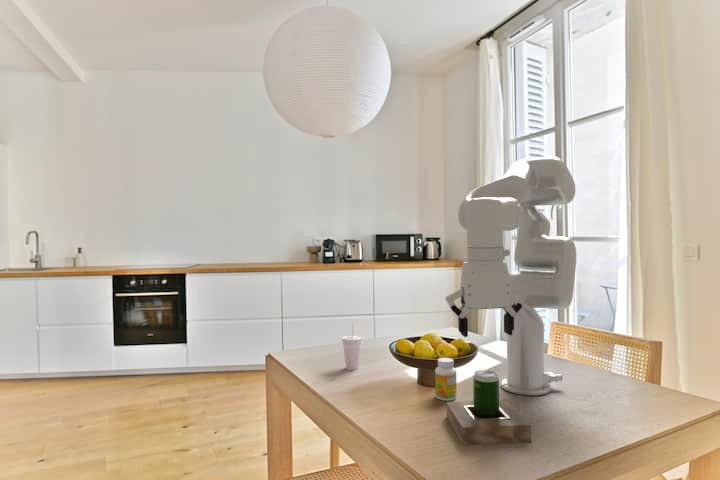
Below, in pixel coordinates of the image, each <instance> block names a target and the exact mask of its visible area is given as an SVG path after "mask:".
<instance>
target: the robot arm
mask: <svg viewBox="0 0 720 480" xmlns="http://www.w3.org/2000/svg"><path fill="white" fill-rule="evenodd" d="M575 183H576V182H575V180H574V178H573V176H572V173H571V172H570V169H569V168H568V166H567V165H566V163H565V162H564V161H563V160H562V159H561V158H559V157H557V156H545V157H536V158H535V157H534V158H523V159H520V160H516V161H515V162H514V163H512V164H511V166H509V168H508V169H507V170H506V171H505V173H504V174H503V175H502V177H500V178H498V179H495V180H492V181H491V182H488V183H485V184H483V185H480V186H479V187H477V188H475V189H473V190H471V191H470V192H469V193H468V194H467V195H466V196H465V197H464V199H463V200H462V202H461V203H460V204H459V205H460V206H459V208H458V213H457V218H458V220H457V221H458V222H459V224H460V226H461V228H462V229H464V230H466V253H467V254H466V259H467V260H466V261H464V262H463V263H462V268H461V274H460V275H461V276H460V289H458V290H456V291H455V292H453V293H451V294H449V295H447V296H445V302H446V303H447V304H448V307H449V308H450V310H451V311H452V312H453V313H454V314H455V315H456V316H457V318H458V319H457V321H458V322H457V323H458V324H457V325H458V332H459V333H460V335H462V336H463V338H468V337H469V326H468V325H469V323H468V322H469V321H468V318H467V317H466V316H467V315H468V314H469V312H470V311H471V310H491V309H492V310H493V309H494V310H495V309H502V310H503V311H504V312H505V314H504V315H503V332H504V333H505V334H506V378H503V379H502V380H501V382H500V384H501V385H500V386H501V388H502V389H504V390H505V391H507V392H510V393H513V394H517V395H524V396H540V395H541V396H543V395H545V394H548V393H550V391H551V384H552V382H556V383H557V382H563V375H562V374H559V373H557V374H554V373H553V372H546V370H545V324H544V321H543V319H542V317H541V316H540V314H539V313H538V312H537V310H536V309H550V310H551V309H552V310H565V309H568V308H570V306H571V304H572V301H573V298H574V288H575V277H576V267H577V249H576V243H574V241H573V239H571V238H569V237H567V236H550V232H551V223H550V220H549V219H548V218H547V217H546V215H544V213H543V212H542V211H541V210H539V209H538V208H537V206H558V205H560V206H563V205H568V204H570V203H571V202H572V201H573V200H574V199H575V195H576V184H575ZM516 229H518V231H517V237H516V241H515V249H514V256H513V257H514V258H513V260H514V264H515V265H516V267H517V268H519V269H522V270H517V271H511V272H510V273H509V268H508V267H509V266H508V263H507V261H504V260H505V258H506V257H508V256H509V257H510V255H511V254H510V253H511V252H510V249H506V248H505V247H504V232H509V231H514V230H516ZM457 299H459V302H460V304H461V306H460V307H458V306H457V304H456V302H455V301H456V300H457Z"/></svg>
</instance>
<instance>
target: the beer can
mask: <svg viewBox="0 0 720 480" xmlns="http://www.w3.org/2000/svg"><path fill="white" fill-rule="evenodd" d="M472 384H473V385H472V386H473V387H472V388H473V401H474V417H475V418H499V401H500V378H499V374H498V373H497V371H496V372H495V371H492V370H487V369H483V370H482V369H480V370H476V371H474V375H473V383H472Z"/></svg>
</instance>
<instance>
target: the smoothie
mask: <svg viewBox="0 0 720 480" xmlns="http://www.w3.org/2000/svg"><path fill="white" fill-rule="evenodd" d="M354 327H355V326H354V323H351V335H345V336H342V337H341V342H342V347H343V353H344V354H343V355H344V361H345V368H346V370H348V371H355V370H359V364H360V356H361V355H360V353H361V347H362V341H363V337H362V336H360V335H354V332H355V331H354V330H355V329H354Z"/></svg>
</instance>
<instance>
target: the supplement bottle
mask: <svg viewBox="0 0 720 480" xmlns="http://www.w3.org/2000/svg"><path fill="white" fill-rule="evenodd" d="M454 363H455V361H454V359H453V358H449V357H440V358H438V359H437V367H436V368H435V370H434V375H435V377H434V378H435V379H434V383H435V386H434V387H435V388H434V390H435V392H434V393H435V398H436V399H438V400H441V401H446V402H451V401H454V400H456V399H457V390H458V389H457V370H456V368H455V367H453V366H454Z"/></svg>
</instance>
